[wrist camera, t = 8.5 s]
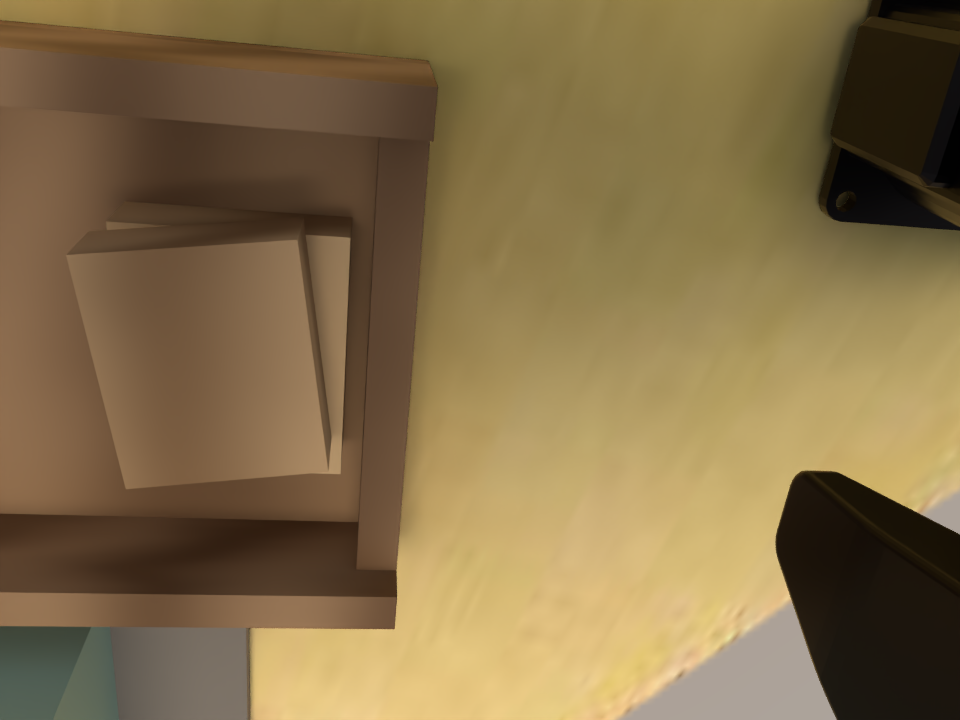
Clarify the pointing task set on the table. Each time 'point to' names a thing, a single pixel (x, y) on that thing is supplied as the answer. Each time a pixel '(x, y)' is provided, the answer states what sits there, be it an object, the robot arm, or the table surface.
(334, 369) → the offcut
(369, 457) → the rack
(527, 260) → the table surface
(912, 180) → the robot arm
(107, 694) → the teal block
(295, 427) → the offcut
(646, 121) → the table surface
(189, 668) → the mat
